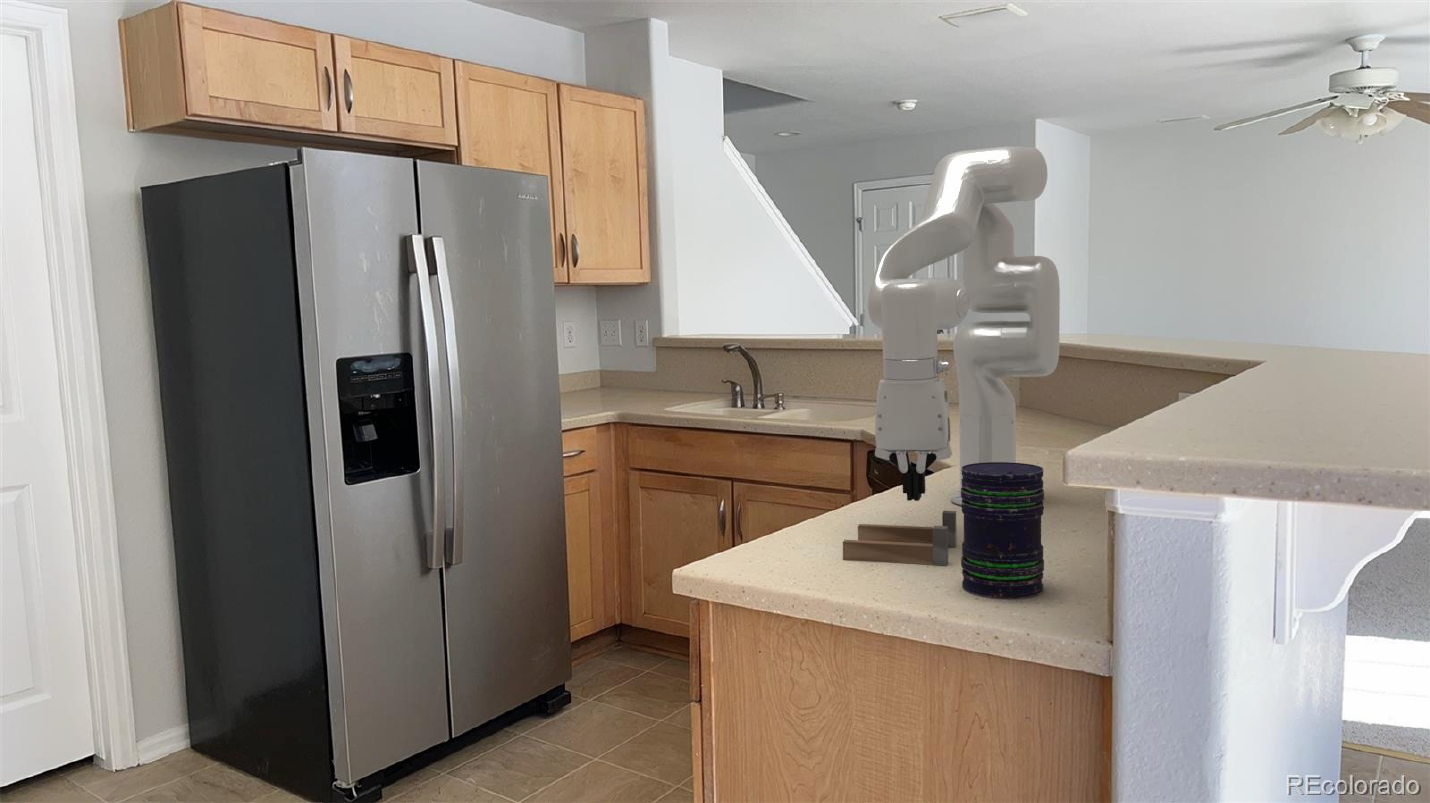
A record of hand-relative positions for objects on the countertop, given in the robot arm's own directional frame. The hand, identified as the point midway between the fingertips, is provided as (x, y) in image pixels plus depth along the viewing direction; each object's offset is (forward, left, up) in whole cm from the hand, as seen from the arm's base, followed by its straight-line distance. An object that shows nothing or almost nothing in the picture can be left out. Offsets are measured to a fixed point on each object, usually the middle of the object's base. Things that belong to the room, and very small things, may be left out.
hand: (914, 498), depth 143 cm
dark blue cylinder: (+16, +13, -8) cm, 22 cm away
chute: (+1, -2, -8) cm, 8 cm away
